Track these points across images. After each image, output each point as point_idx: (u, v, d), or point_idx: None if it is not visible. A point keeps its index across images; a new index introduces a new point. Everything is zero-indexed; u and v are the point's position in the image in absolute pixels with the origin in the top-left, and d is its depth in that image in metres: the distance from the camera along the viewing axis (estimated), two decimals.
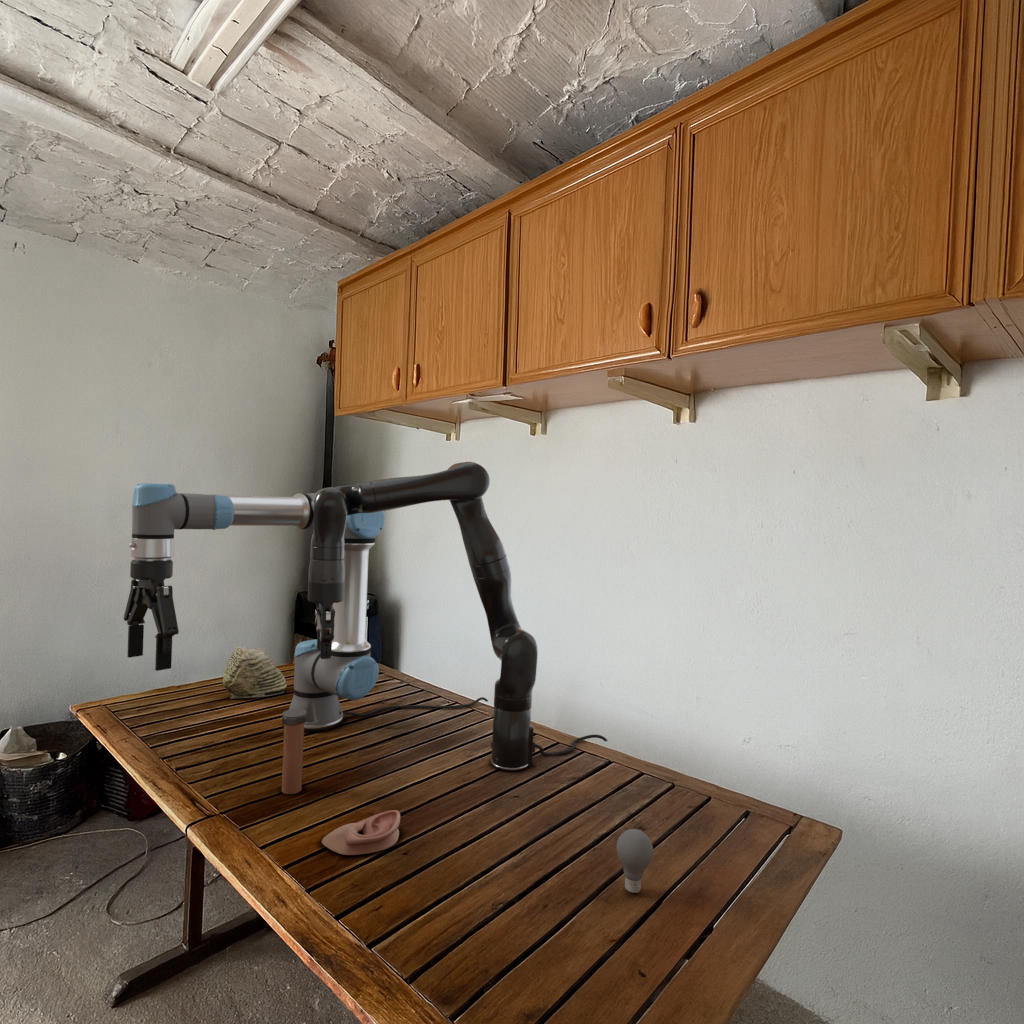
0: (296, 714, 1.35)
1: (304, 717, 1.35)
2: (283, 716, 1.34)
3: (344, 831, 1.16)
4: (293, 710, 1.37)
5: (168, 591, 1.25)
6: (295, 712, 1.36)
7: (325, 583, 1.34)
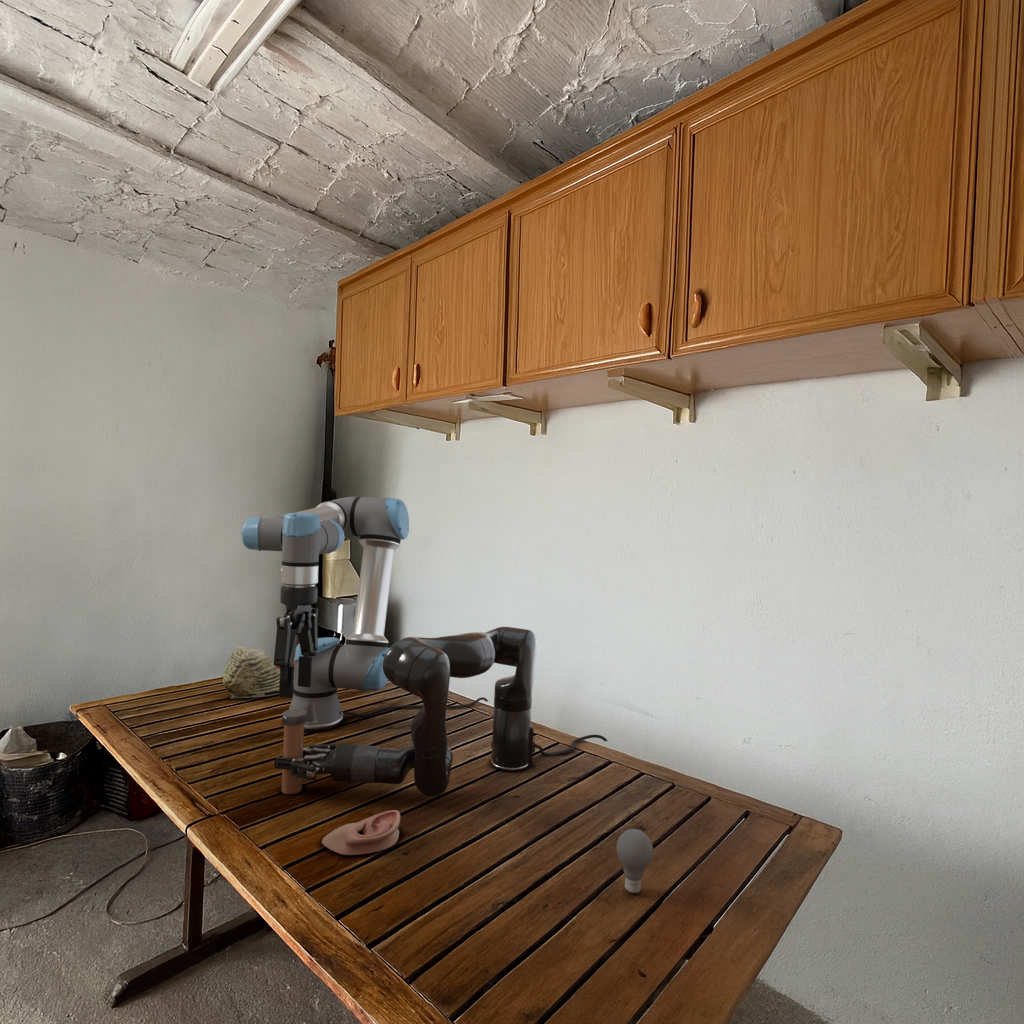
0: (296, 714, 1.35)
1: (304, 717, 1.35)
2: (283, 716, 1.34)
3: (344, 831, 1.16)
4: (293, 710, 1.37)
5: (284, 623, 1.29)
6: (295, 712, 1.36)
7: None
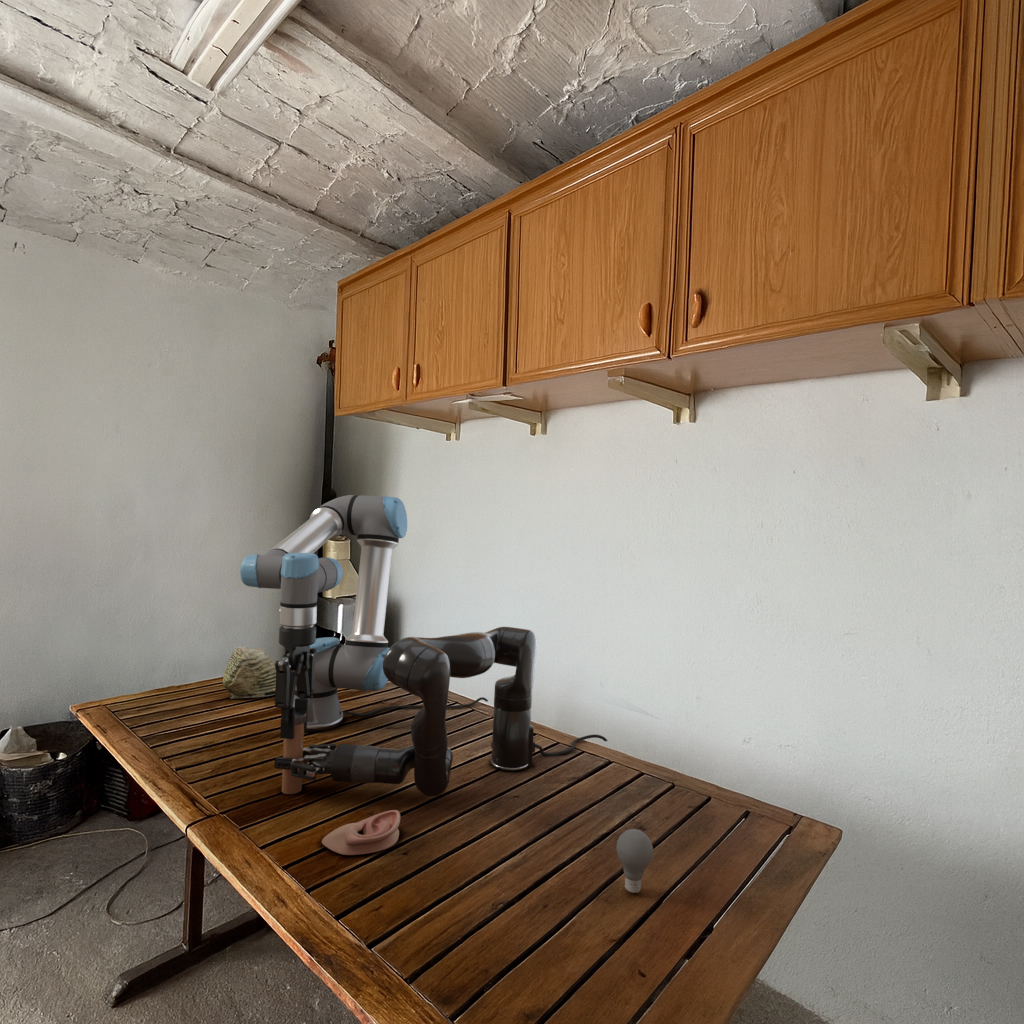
0: (296, 714, 1.35)
1: (304, 717, 1.35)
2: None
3: (344, 831, 1.16)
4: None
5: (282, 668, 1.29)
6: (295, 712, 1.36)
7: None
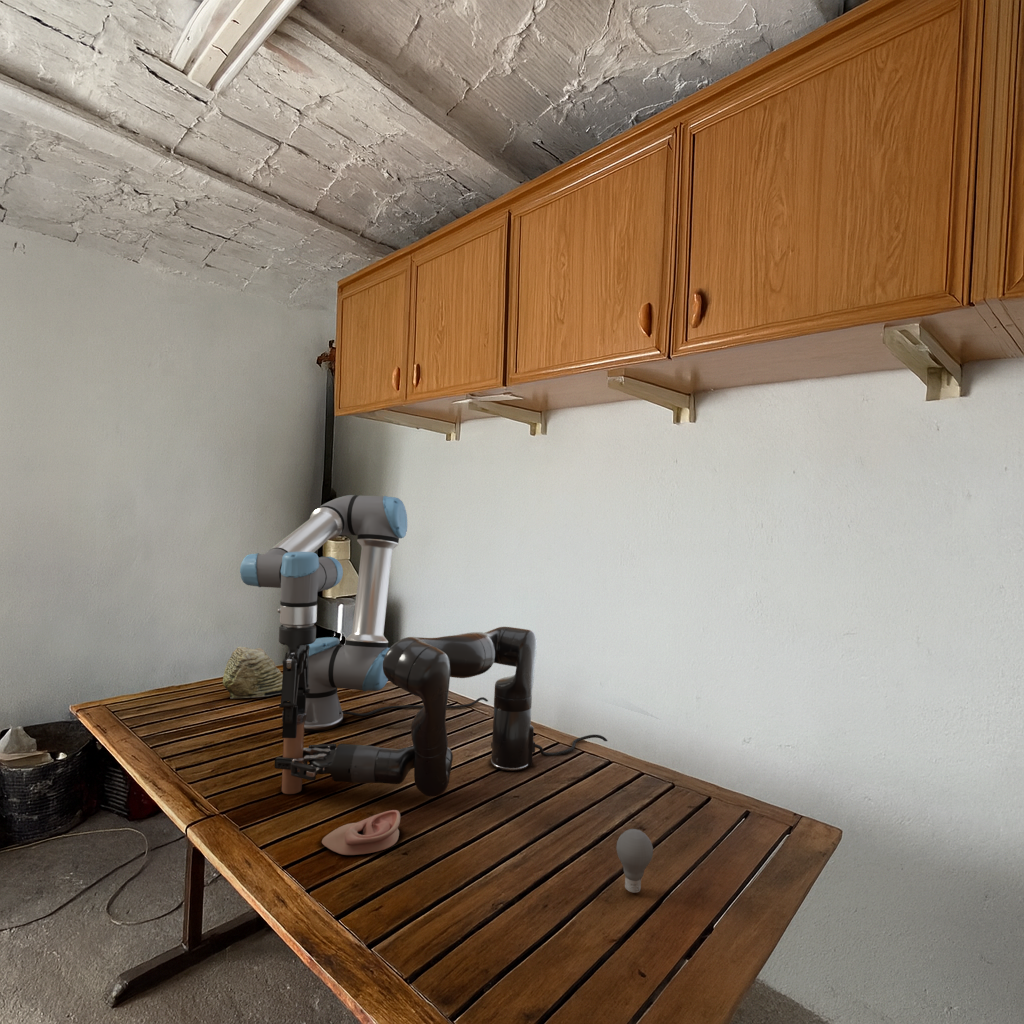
0: (300, 711, 1.36)
1: None
2: None
3: (344, 831, 1.16)
4: None
5: (291, 665, 1.29)
6: None
7: None
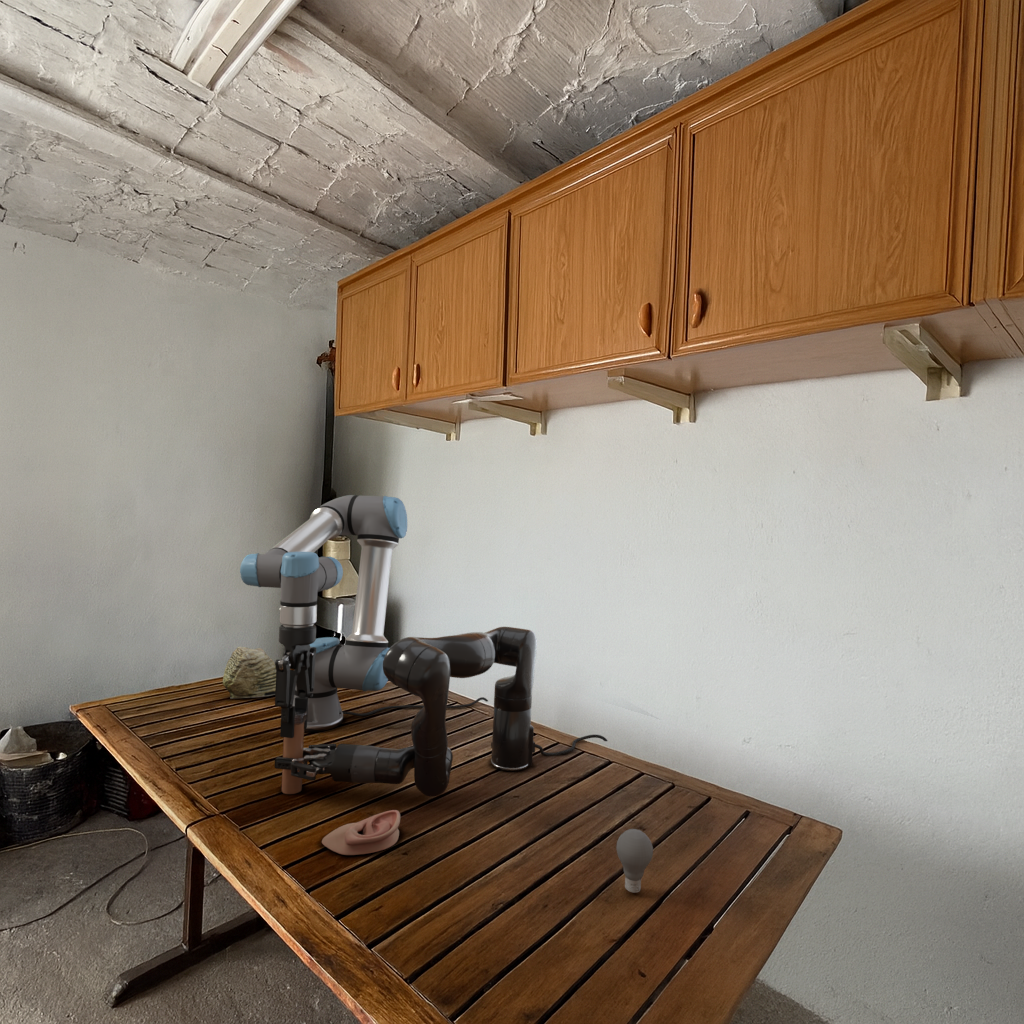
0: (300, 711, 1.36)
1: None
2: (296, 716, 1.34)
3: (344, 831, 1.16)
4: None
5: (282, 666, 1.29)
6: None
7: None
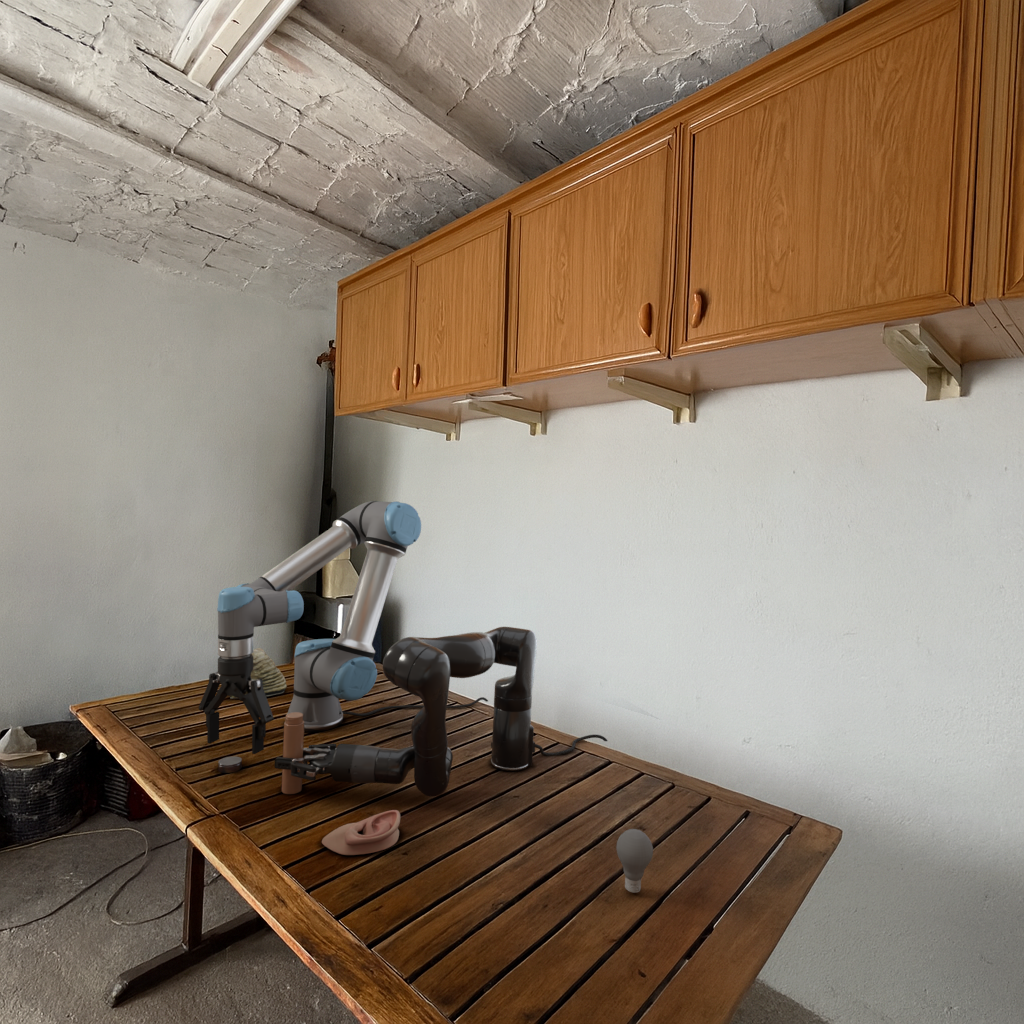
0: (231, 758, 1.46)
1: None
2: (241, 761, 1.46)
3: (344, 831, 1.16)
4: (227, 763, 1.44)
5: (260, 684, 1.43)
6: (229, 760, 1.45)
7: None
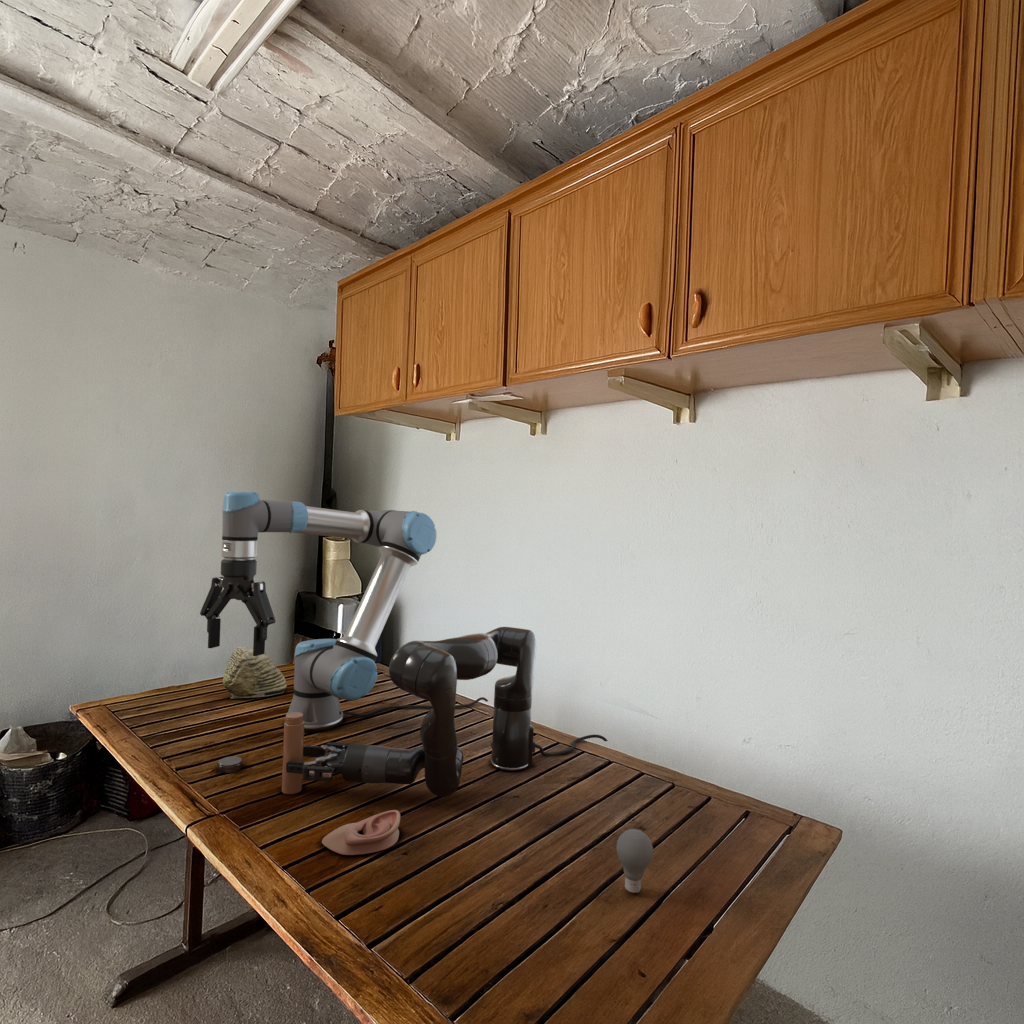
0: (231, 758, 1.46)
1: None
2: (241, 761, 1.46)
3: (344, 831, 1.16)
4: (227, 763, 1.44)
5: (263, 586, 1.43)
6: (229, 760, 1.45)
7: None
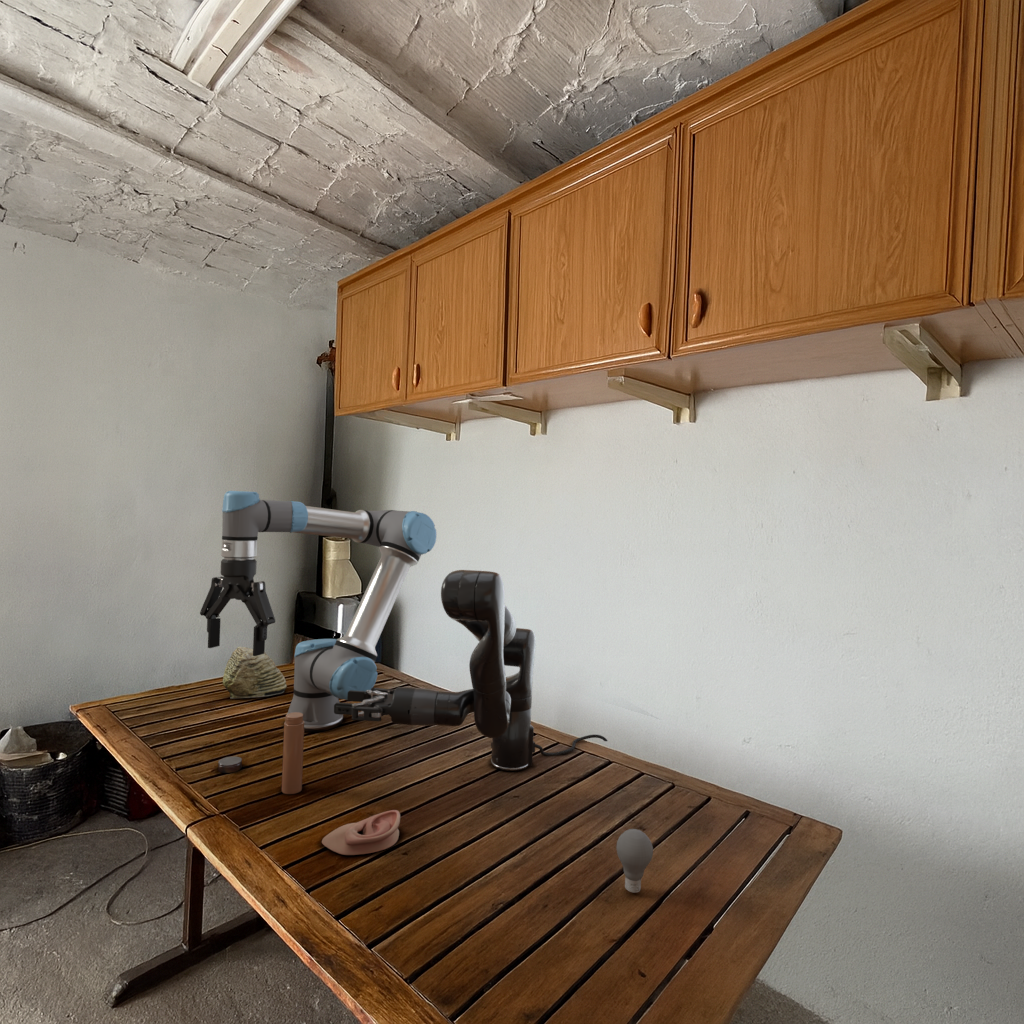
0: (231, 758, 1.46)
1: None
2: (241, 761, 1.46)
3: (344, 831, 1.16)
4: (227, 763, 1.44)
5: (262, 586, 1.43)
6: (229, 760, 1.45)
7: None
